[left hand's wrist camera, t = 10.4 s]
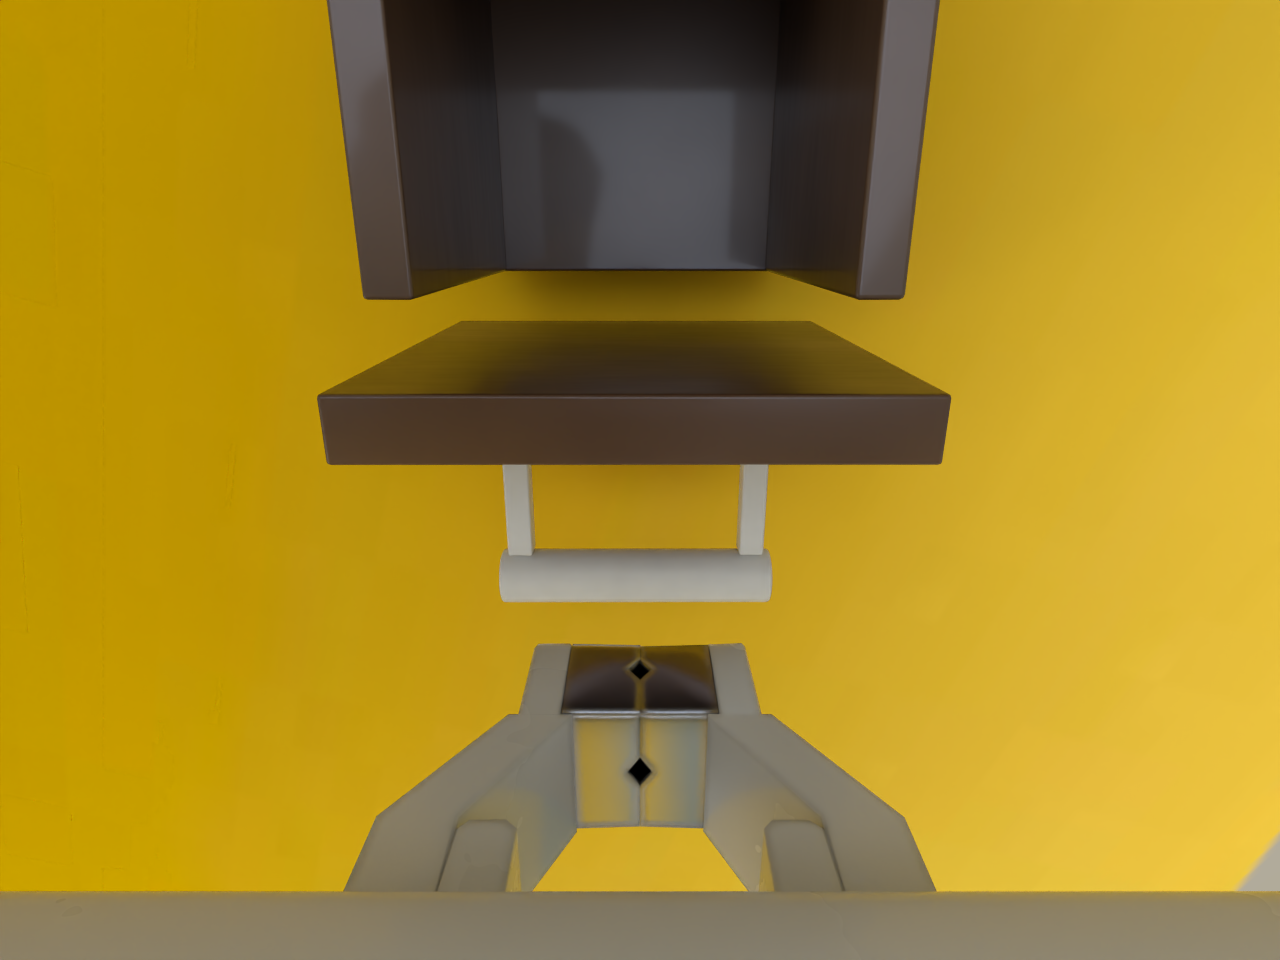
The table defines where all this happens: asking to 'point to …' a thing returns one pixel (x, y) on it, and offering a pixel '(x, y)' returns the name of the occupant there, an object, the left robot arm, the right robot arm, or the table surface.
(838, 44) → the drawer
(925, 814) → the table surface
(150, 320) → the table surface
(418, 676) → the table surface
